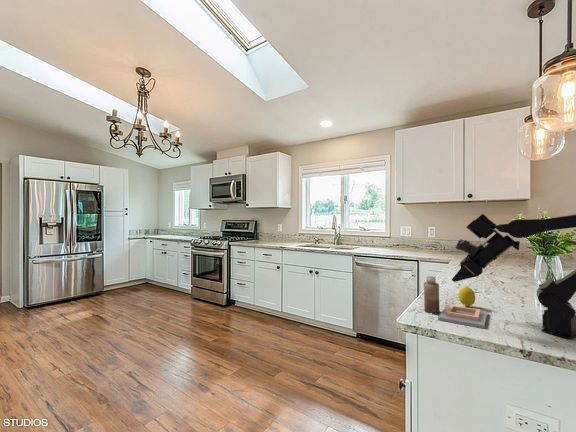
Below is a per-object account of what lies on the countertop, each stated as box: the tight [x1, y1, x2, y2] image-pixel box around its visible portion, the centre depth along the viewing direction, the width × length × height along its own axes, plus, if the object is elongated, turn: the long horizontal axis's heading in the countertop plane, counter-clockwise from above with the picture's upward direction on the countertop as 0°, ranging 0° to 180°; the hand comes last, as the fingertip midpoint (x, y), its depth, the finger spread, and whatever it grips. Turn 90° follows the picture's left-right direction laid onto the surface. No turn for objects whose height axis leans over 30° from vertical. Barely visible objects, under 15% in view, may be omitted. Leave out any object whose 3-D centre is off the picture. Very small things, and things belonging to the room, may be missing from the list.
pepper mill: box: [423, 275, 441, 315], centre depth 104 cm, size 5×5×13 cm
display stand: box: [437, 304, 488, 329], centre depth 97 cm, size 13×16×2 cm
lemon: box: [458, 286, 476, 308], centre depth 108 cm, size 6×6×8 cm
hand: (454, 278), depth 99 cm, fingers open, 9 cm apart
